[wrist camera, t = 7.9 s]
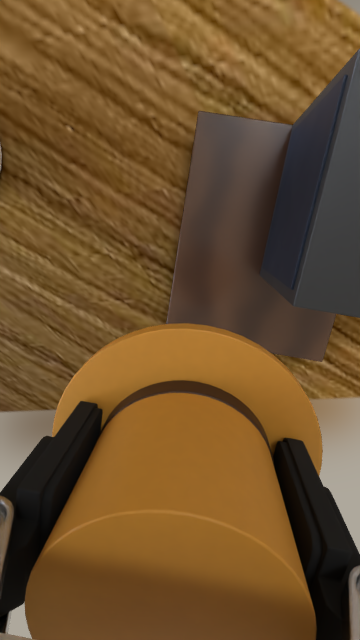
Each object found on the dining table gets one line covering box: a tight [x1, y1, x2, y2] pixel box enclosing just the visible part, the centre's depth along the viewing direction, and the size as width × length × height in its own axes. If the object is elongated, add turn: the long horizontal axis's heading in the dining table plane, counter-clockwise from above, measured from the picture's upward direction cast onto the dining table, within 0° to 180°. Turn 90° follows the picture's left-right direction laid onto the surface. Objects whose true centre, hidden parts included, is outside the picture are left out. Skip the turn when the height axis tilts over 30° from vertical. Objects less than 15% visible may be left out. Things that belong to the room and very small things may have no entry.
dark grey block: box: [260, 49, 360, 318], centre depth 22 cm, size 6×12×12 cm, turn 171°
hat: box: [25, 323, 323, 640], centre depth 9 cm, size 9×9×6 cm
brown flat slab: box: [166, 111, 336, 362], centre depth 31 cm, size 15×19×4 cm
